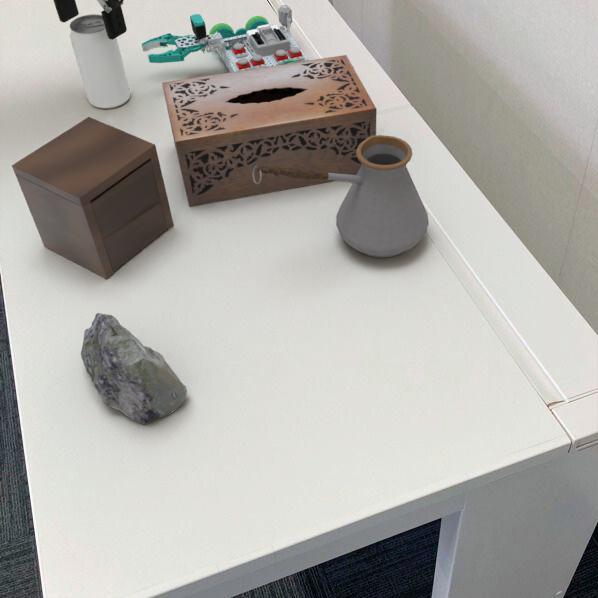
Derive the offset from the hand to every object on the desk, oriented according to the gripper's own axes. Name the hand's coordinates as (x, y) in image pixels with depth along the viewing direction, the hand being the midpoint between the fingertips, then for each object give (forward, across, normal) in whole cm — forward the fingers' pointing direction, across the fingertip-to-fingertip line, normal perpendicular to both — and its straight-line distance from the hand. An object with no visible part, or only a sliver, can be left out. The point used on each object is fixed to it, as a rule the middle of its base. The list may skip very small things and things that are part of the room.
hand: (93, 26), depth 111 cm
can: (+12, 0, 0) cm, 12 cm away
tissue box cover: (+12, +31, 0) cm, 33 cm away
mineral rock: (+11, +43, -40) cm, 59 cm away
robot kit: (+12, +11, +16) cm, 22 cm away
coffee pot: (+12, +50, -10) cm, 52 cm away
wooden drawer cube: (+11, +23, -24) cm, 35 cm away
